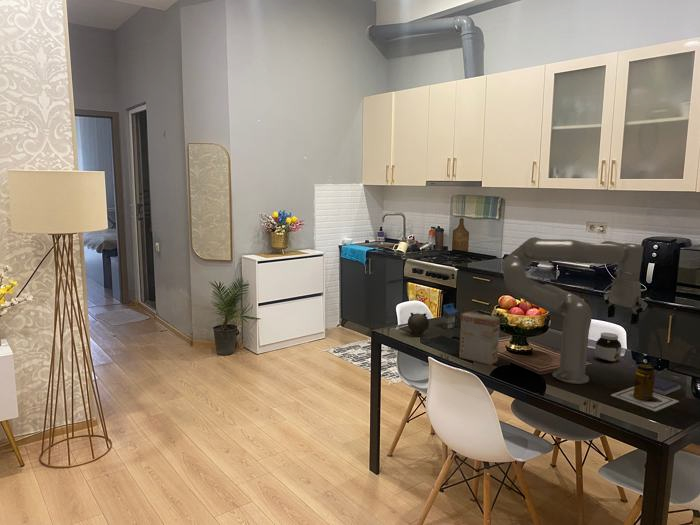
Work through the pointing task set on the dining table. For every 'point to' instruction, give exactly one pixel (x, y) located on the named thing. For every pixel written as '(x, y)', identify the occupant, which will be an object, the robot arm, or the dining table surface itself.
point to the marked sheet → (649, 405)
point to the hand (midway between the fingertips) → (622, 320)
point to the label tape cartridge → (450, 316)
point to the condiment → (644, 384)
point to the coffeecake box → (479, 337)
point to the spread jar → (608, 348)
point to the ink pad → (665, 386)
